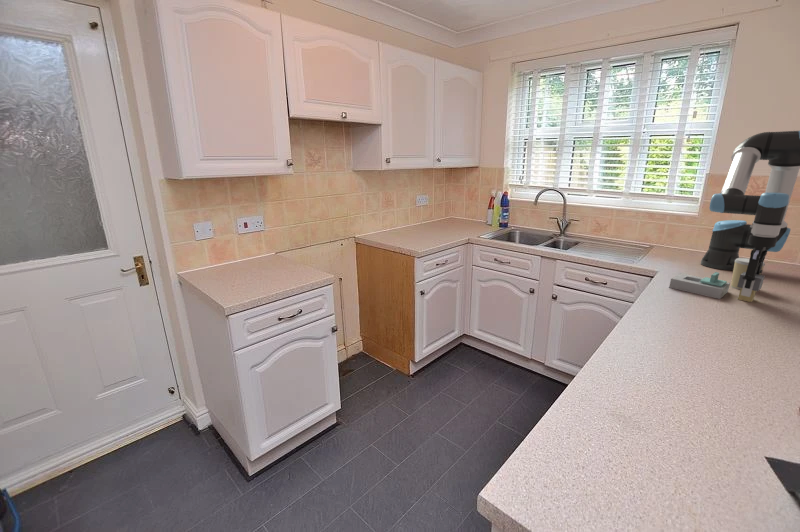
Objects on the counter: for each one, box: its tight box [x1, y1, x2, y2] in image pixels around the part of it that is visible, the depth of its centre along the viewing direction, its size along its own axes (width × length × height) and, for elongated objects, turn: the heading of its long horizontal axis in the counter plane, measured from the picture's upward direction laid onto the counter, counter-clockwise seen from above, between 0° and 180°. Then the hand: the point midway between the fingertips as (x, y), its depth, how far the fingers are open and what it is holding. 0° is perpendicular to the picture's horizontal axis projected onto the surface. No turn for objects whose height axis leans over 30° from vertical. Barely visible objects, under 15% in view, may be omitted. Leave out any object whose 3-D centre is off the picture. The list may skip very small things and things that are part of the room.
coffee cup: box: [730, 257, 766, 291], centre depth 156 cm, size 9×9×12 cm
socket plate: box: [668, 272, 731, 300], centre depth 155 cm, size 12×17×4 cm
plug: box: [737, 272, 765, 303], centre depth 143 cm, size 6×6×10 cm
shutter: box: [700, 271, 728, 287], centre depth 151 cm, size 7×7×4 cm
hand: (747, 293), depth 144 cm, fingers closed on plug, 6 cm apart
